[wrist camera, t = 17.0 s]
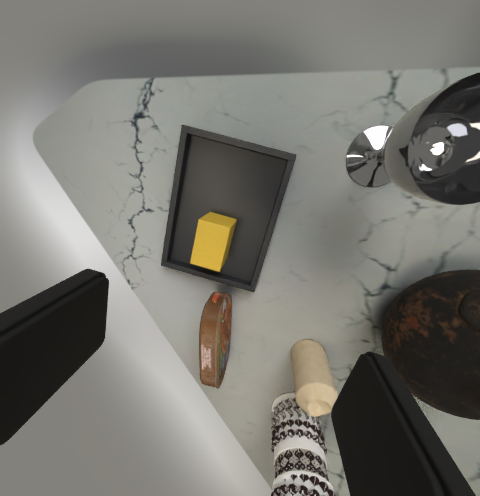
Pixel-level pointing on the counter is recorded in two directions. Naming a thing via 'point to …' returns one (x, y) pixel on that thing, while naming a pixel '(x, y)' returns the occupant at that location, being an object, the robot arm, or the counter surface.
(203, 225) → the sponge
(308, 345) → the candle
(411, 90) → the counter surface
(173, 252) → the tray
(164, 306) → the counter surface
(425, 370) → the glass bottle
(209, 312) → the tin
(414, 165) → the wine glass
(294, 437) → the decorative candle
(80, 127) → the counter surface
